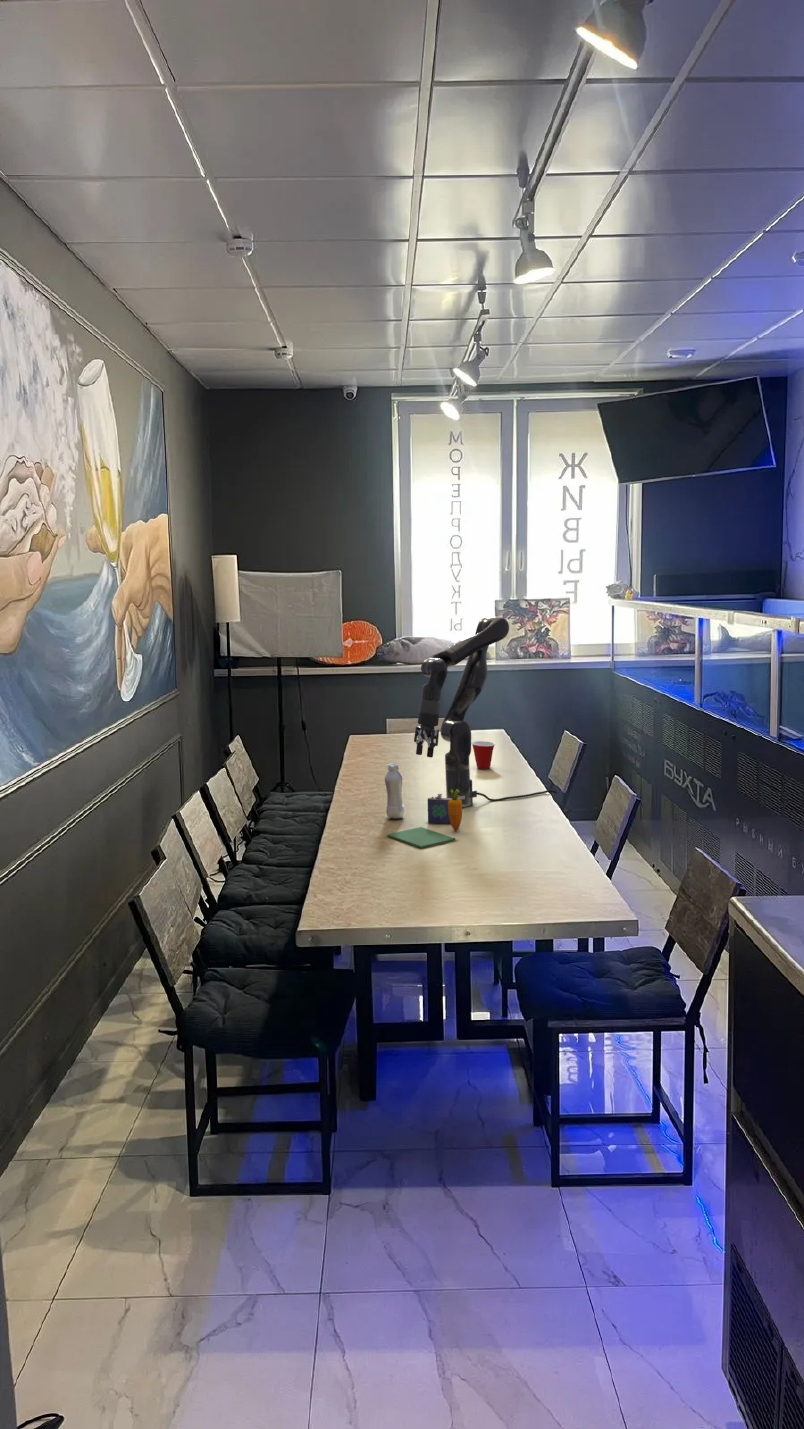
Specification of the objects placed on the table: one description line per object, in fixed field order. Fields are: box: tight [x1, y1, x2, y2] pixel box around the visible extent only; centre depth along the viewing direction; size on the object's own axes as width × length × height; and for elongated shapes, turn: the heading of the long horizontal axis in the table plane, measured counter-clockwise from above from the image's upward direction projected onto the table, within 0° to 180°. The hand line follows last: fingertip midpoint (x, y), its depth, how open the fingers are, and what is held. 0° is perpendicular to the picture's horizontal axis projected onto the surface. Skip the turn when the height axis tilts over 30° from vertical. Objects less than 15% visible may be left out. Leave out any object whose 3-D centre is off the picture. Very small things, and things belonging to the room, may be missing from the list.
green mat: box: [386, 826, 456, 849], centre depth 323 cm, size 14×20×1 cm
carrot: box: [448, 789, 463, 833], centre depth 329 cm, size 5×5×15 cm
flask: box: [427, 793, 452, 825], centre depth 341 cm, size 9×3×11 cm, turn 74°
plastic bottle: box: [384, 763, 405, 820], centre depth 350 cm, size 6×7×20 cm
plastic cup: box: [471, 740, 496, 771], centre depth 434 cm, size 11×11×12 cm
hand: (424, 756), depth 354 cm, fingers open, 8 cm apart
